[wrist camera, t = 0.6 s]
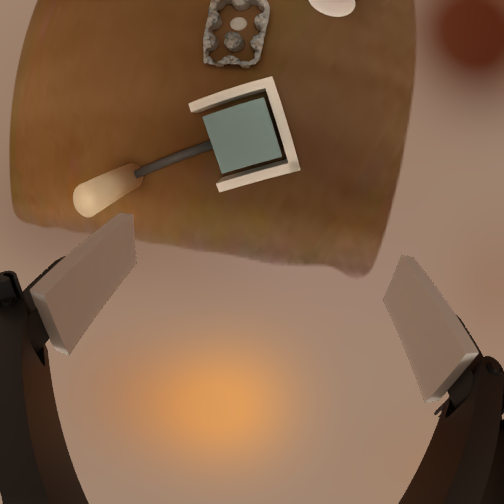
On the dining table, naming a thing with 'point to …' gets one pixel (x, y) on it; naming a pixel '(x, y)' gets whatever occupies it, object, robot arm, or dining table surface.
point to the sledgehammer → (193, 154)
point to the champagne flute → (334, 7)
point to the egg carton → (234, 39)
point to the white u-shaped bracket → (292, 160)
